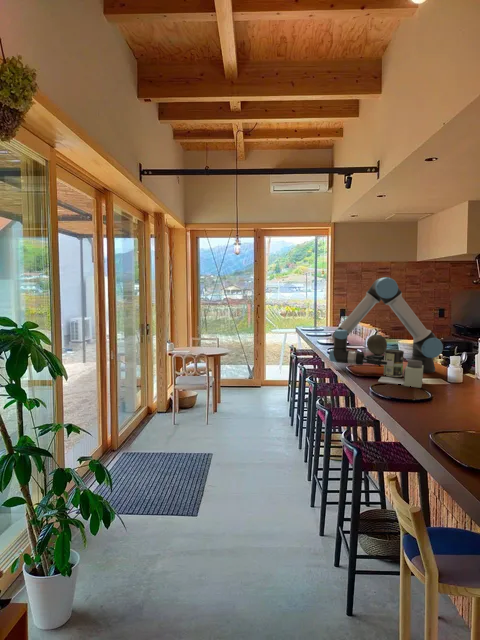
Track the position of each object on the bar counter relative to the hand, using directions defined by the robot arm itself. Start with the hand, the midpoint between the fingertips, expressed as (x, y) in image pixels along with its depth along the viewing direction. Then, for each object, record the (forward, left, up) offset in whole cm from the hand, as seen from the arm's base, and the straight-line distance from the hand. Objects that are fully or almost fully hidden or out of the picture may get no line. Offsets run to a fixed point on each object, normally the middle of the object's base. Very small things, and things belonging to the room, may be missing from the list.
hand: (394, 361), depth 252 cm
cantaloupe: (-32, -67, -8) cm, 75 cm away
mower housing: (+7, +16, -8) cm, 19 cm away
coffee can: (0, -1, -8) cm, 8 cm away
